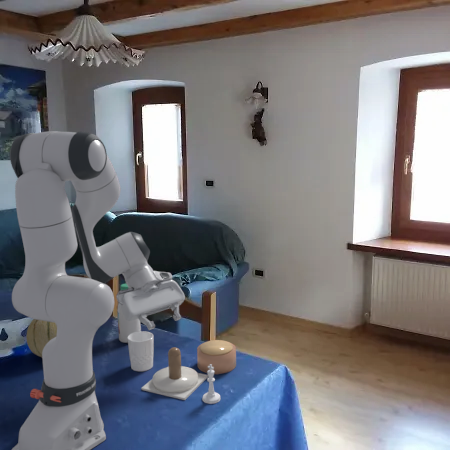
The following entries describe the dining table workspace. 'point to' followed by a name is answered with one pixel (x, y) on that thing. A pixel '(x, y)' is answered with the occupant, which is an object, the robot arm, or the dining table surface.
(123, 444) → the dining table surface
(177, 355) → the lid
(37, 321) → the cantaloupe
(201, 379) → the mat
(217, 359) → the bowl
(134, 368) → the white cup
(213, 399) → the chess piece
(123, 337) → the milk bottle
